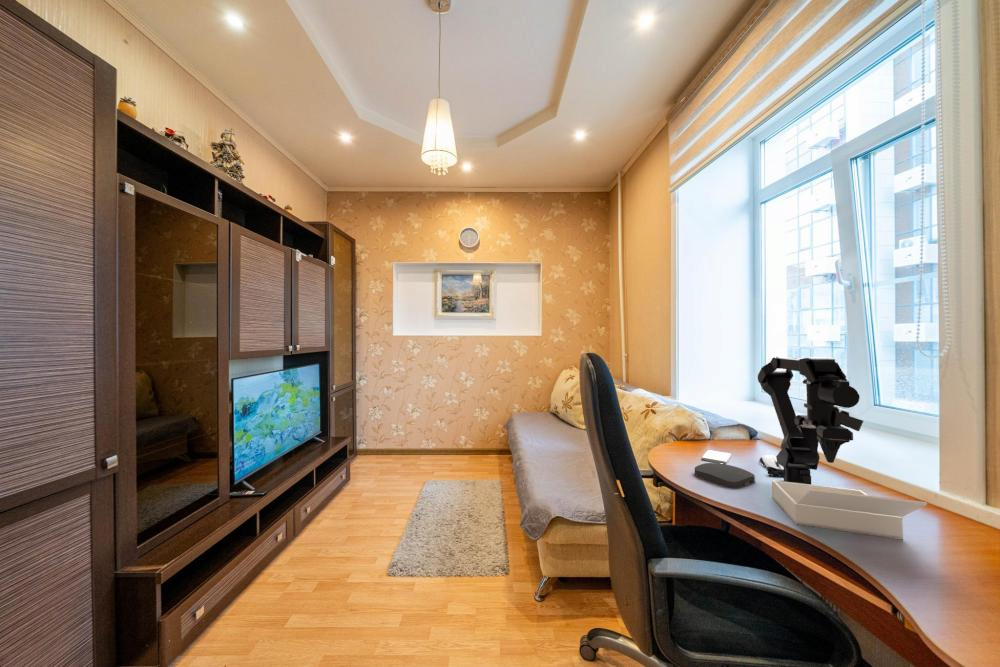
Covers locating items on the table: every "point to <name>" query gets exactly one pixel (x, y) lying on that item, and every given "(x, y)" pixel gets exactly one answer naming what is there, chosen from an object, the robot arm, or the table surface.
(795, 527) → the table surface
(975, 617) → the table surface
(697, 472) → the media streaming box
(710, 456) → the external hard drive
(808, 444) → the robot arm
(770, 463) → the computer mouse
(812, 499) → the box flap
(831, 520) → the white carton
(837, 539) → the table surface
